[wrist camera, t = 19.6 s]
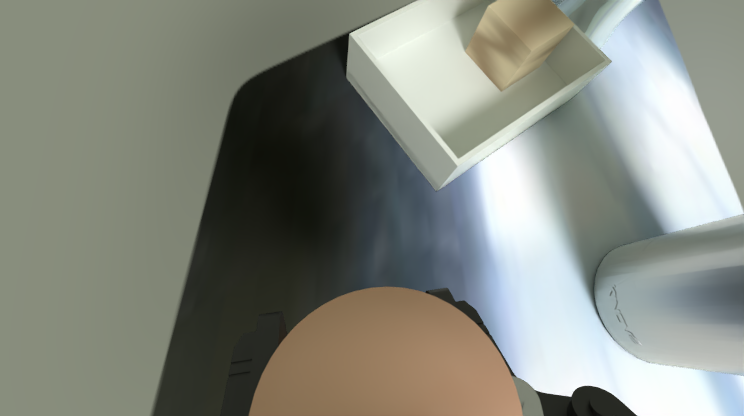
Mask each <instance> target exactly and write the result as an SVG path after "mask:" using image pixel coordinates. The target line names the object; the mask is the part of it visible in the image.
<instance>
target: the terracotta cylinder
mask: <svg viewBox="0 0 744 416" xmlns="http://www.w3.org/2000/svg"><path fill="white" fill-rule="evenodd" d="M249 416H523V414H522V408H521V403H520V400H519V396H518V393H517V389H516V386H515V384H514V381H513V379H512V376H511V374H510V371H509V369H508V367H507V365H506V364H505V362H504V360H503V358H502V356H501V354H500V353H499V351H498V350H497V348H496V347H495V346H494V344H493V343H492V341H491V340H490V338H489V337H488V336H487V335H486V334H485V333H484V332H483V331H482V329H481V328H480V327H479V326H478V325H477V324H476V323H475V322H473V321H472V320H471V319H470V318H469V317H468V316H467V315H465V314H464V313H463V312H461V311H460V310H458V309H457V308H455V307H454V306H452V305H451V304H449V303H447V302H445V301H443V300H441V299H439V298H437V297H435V296H432V295H430V294H427V293H424V292H421V291H417V290H412V289H407V288H398V287H377V288H368V289H363V290H358V291H354V292H351V293H348V294H346V295H343V296H340V297H338V298H336V299H334V300H332V301H330V302H328V303H326V304H324V305H322V306H321V307H319V308H318V309H316V310H315V311H313V312H312V313H310V314H309V315H308V316H307V317H305V318H304V319H303V320H302V321H301V322H300V323H299V324H297V325H296V326H295V327H294V328H293V330H292V331H291V332H290V333H289V334H288V335H287V336H286V337H285V338H284V340H283V341H282V342H281V344H280V345H279V347H278V348H277V349H276V351H275V352H274V354H273V355H272V357H271V358H270V360H269V362H268V364H267V366H266V368H265V370H264V372H263V373H262V376H261V378H260V381H259V383H258V386H257V388H256V391H255V394H254V397H253V401H252V405H251V409H250V412H249Z"/></svg>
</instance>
